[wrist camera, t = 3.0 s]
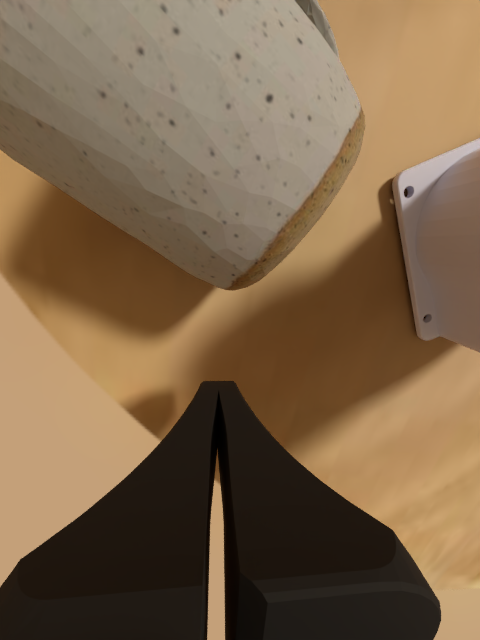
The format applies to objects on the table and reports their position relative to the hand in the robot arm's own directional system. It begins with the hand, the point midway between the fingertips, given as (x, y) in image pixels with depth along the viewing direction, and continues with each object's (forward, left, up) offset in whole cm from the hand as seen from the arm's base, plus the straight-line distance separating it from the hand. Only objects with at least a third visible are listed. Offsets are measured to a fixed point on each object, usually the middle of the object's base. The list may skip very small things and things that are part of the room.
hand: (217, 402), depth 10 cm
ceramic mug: (+10, -4, -5) cm, 12 cm away
